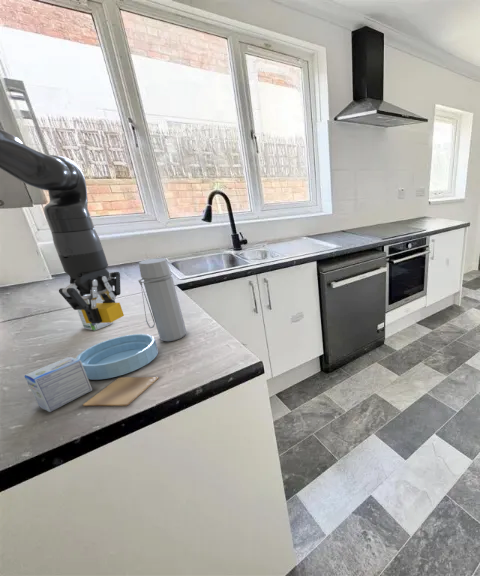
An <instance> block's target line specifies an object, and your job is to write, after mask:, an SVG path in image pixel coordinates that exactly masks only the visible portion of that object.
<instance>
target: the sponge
mask: <svg viewBox="0 0 480 576" xmlns="http://www.w3.org/2000/svg"><path fill="white" fill-rule="evenodd" d="M96 306H97V307H96V308H98V310H99V313H100V316H101V319H102V322H101V323H111V322H112V323H113V322H115V321H117V320H119V319H121V318H122V317H124V316H125V314H124V311H123V309H122V305H121V303H120V302H115V303H96ZM81 311H82V313H83V316H84V318H85V321H86V323H91V322H90V321H89V320H88V317H87V315H86V312H85V310H81Z"/></svg>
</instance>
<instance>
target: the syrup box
mask: <svg viewBox="0 0 480 576" xmlns="http://www.w3.org/2000/svg"><path fill="white" fill-rule="evenodd" d="M85 295H87V296H90V294H85ZM103 301H104V300H102V299H101V297H100V296H99V294H98V298H97V299H96V303H103ZM88 304H89V300H88ZM77 314H78V316H79V318H80V322H81V324H82V327H83V328H84V329H85V330H89V331H94V332H95V331H98V330H100V329H102V328H106V327H107V326H110V325H113V322H111V323H94V324H93V323H86V321H85V318H84V316H83V313H82V311H81V310H77Z"/></svg>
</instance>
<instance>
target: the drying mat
mask: <svg viewBox="0 0 480 576" xmlns="http://www.w3.org/2000/svg"><path fill="white" fill-rule="evenodd" d="M159 379H160V378H159V376H127V377H125V376H123V377H121V376H118V378H116V379H115V380H113V381H112V382H111V383H110V384H108V385H107V386H105V387H104V388H103V389H101V390H100V391H99V392H98V393H96V394H95V395H93V396H92V397H91V398H89V399H88V400H87V401H86V402H84V403H82V407H128V406H129V405H130V404H131V403H132V402H133V401H135V400H136V399H138V397H139V396H141V395H142V394H143V393H144V392H145V391H146V390H147V389H149V387H151V386H152V385H153V384H154V383H155V382H156V381H158V380H159Z"/></svg>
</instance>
